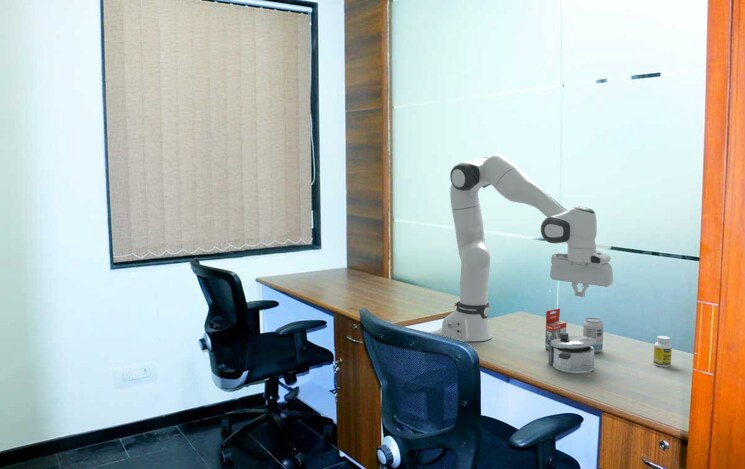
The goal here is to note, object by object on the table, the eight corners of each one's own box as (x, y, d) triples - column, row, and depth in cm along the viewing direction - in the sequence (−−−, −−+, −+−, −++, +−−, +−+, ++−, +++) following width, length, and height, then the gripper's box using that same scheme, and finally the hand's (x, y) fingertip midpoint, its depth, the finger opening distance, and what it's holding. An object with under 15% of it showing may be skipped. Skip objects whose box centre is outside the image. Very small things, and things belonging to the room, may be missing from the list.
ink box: (566, 347, 226) (567, 309, 224) (552, 351, 221) (553, 313, 220) (558, 345, 229) (559, 308, 227) (544, 349, 224) (545, 311, 223)
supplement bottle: (663, 368, 202) (665, 340, 201) (649, 363, 207) (651, 336, 206) (674, 365, 205) (675, 338, 203) (660, 361, 209) (661, 334, 208)
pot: (539, 368, 203) (540, 349, 202) (560, 355, 216) (560, 337, 215) (582, 378, 194) (583, 357, 193) (601, 364, 207) (602, 344, 206)
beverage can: (600, 348, 224) (601, 317, 223) (604, 354, 217) (605, 322, 216) (580, 347, 225) (581, 316, 224) (584, 353, 218) (585, 321, 217)
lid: (542, 348, 203) (541, 338, 203) (559, 338, 214) (558, 328, 214) (586, 351, 193) (585, 340, 193) (602, 340, 204) (601, 330, 204)
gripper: (547, 253, 203) (546, 293, 205) (608, 259, 190) (606, 302, 192) (555, 251, 208) (554, 290, 210) (615, 257, 195) (613, 298, 197)
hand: (579, 296), depth 201 cm, fingers closed
